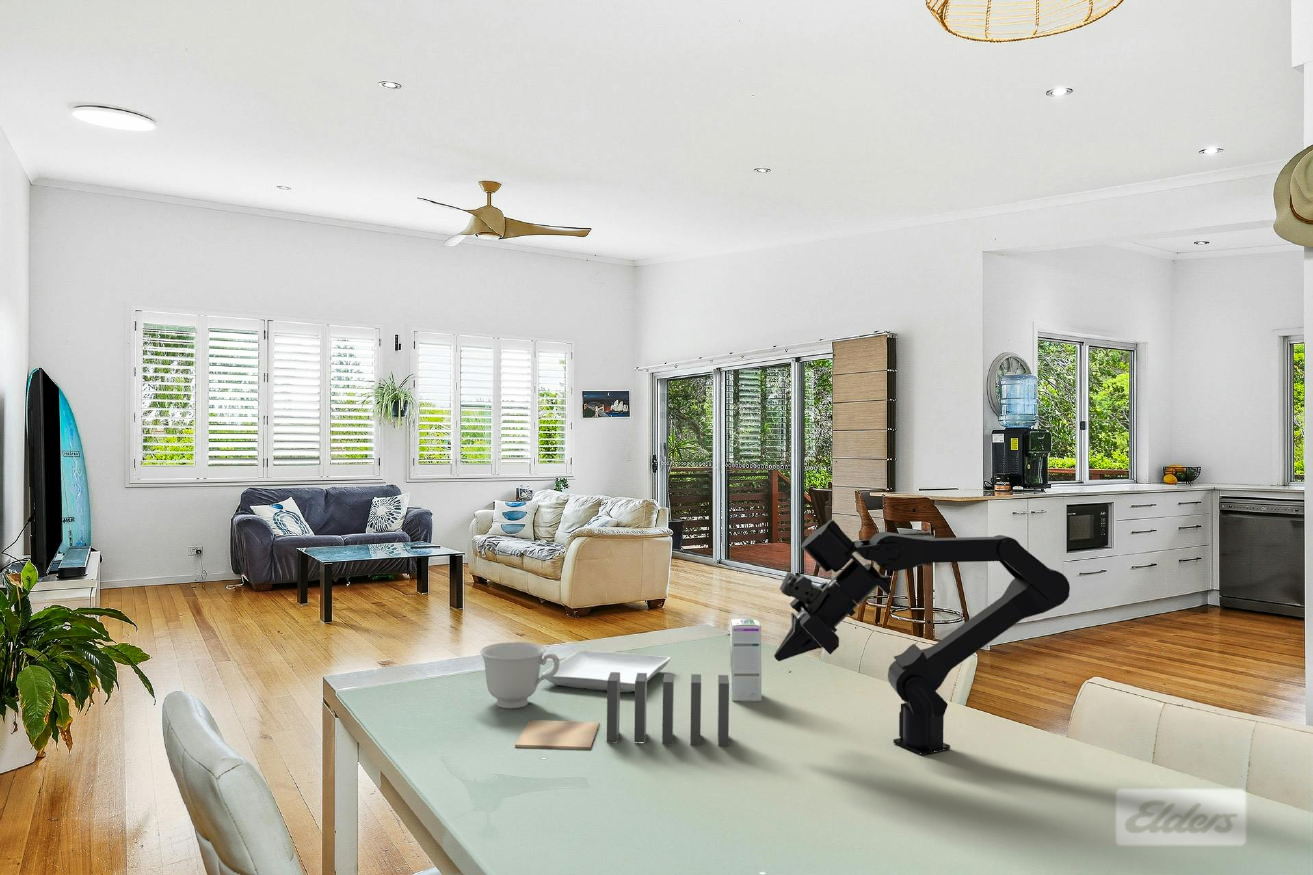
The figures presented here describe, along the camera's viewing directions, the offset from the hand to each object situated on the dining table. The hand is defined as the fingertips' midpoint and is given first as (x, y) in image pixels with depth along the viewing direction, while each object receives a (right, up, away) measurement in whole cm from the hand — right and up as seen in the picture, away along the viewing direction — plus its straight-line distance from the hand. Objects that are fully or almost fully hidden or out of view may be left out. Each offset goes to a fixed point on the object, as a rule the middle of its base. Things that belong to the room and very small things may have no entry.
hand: (776, 658), depth 138 cm
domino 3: (-18, -13, +1) cm, 22 cm away
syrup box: (-2, -14, +24) cm, 28 cm away
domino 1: (-27, -13, +1) cm, 30 cm away
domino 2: (-22, -13, +1) cm, 26 cm away
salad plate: (-29, -14, +36) cm, 48 cm away
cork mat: (-36, -13, +2) cm, 38 cm away
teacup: (-45, -13, +18) cm, 50 cm away
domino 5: (-9, -13, 0) cm, 16 cm away
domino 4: (-13, -13, +1) cm, 19 cm away
